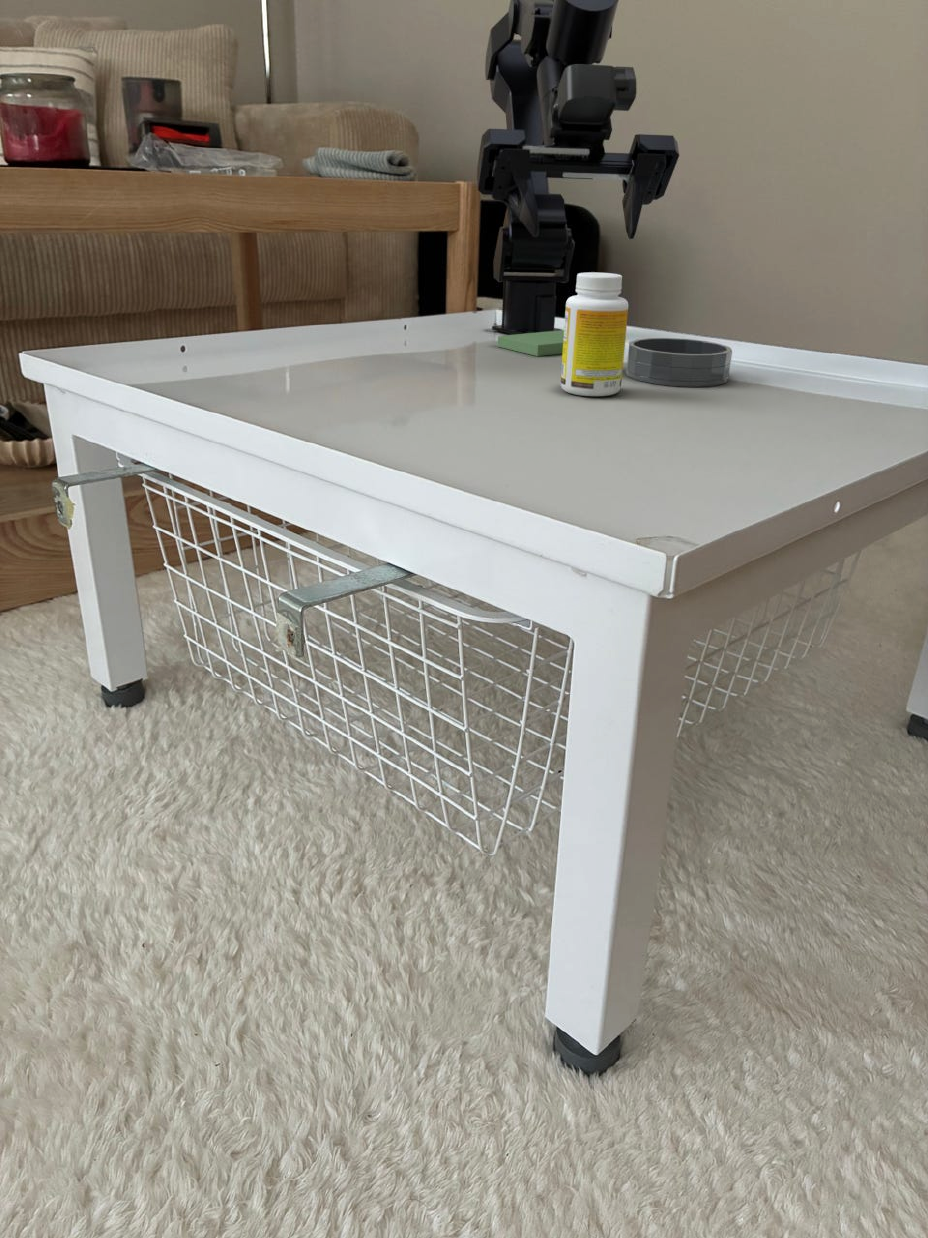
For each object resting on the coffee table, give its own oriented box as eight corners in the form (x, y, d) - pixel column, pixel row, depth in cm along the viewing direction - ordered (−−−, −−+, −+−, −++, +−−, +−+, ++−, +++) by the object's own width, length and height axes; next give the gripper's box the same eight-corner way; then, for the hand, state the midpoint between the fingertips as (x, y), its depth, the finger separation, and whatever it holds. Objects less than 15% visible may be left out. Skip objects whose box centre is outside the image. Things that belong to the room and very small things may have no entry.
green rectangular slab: (497, 346, 109) (497, 335, 108) (561, 340, 114) (562, 329, 114) (537, 356, 104) (538, 344, 103) (602, 349, 109) (603, 338, 109)
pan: (605, 372, 96) (608, 342, 95) (671, 364, 102) (675, 335, 101) (681, 390, 89) (685, 358, 88) (747, 380, 95) (752, 349, 93)
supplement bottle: (632, 395, 87) (645, 276, 82) (583, 400, 84) (593, 278, 80) (596, 383, 91) (606, 270, 87) (548, 387, 88) (555, 271, 84)
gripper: (485, 27, 85) (497, 162, 80) (686, 37, 87) (710, 170, 82) (472, 129, 96) (481, 255, 90) (652, 136, 98) (671, 259, 92)
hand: (584, 234), depth 89 cm, fingers open, 9 cm apart
